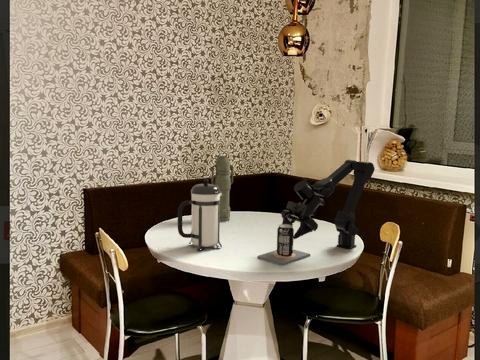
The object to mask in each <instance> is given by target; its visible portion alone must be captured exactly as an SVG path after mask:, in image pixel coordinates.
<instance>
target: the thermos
mask: <svg viewBox="0 0 480 360" xmlns="http://www.w3.org/2000/svg"><path fill="white" fill-rule="evenodd" d="M214 171H215V173H214ZM233 183H234V167H233V165H231V163H230V159H229V156H227V155H219V156H217V157H216V160H215V164H213V165H212V166H211V184H214V185H216V186H218V187H219V189H220V190H221V193H222V196H220V221H228V222H230V221H229V220H231V218H230V217H231V207H230V191H231V185H233Z"/></svg>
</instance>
